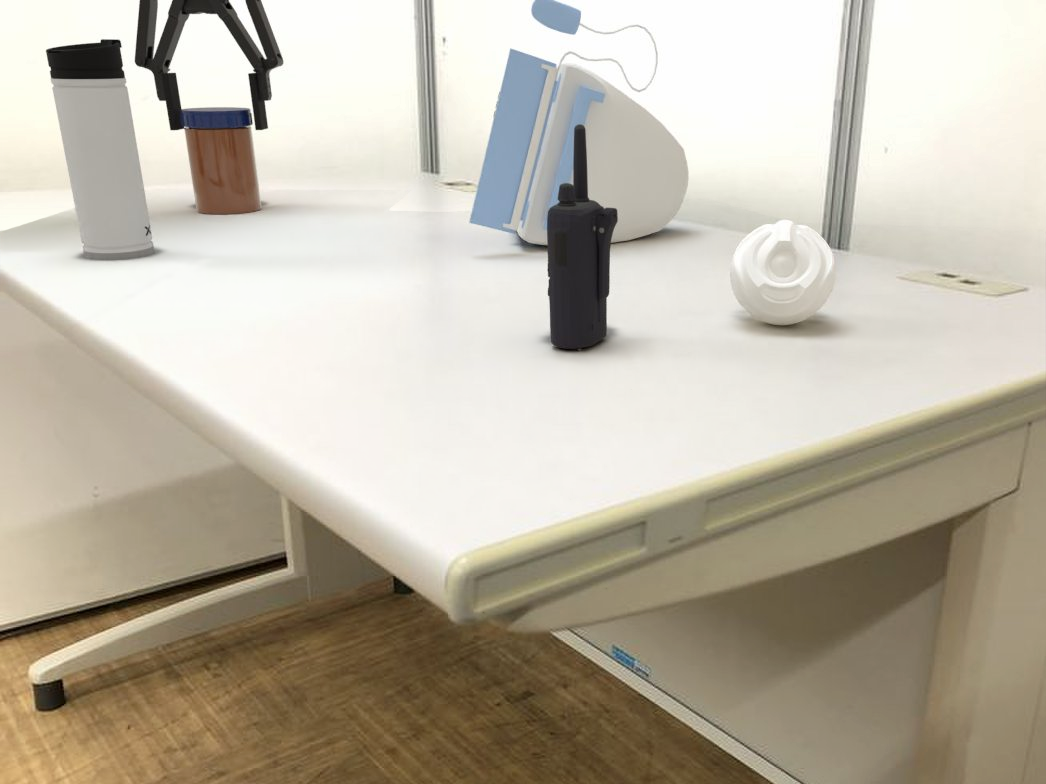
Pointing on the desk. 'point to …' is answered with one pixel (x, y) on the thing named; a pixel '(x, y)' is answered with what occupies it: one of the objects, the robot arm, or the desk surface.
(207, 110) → the jar lid
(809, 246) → the motion sensor
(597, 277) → the two-way radio
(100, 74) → the travel mug
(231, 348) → the desk surface
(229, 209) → the jar
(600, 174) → the vintage crt computer
